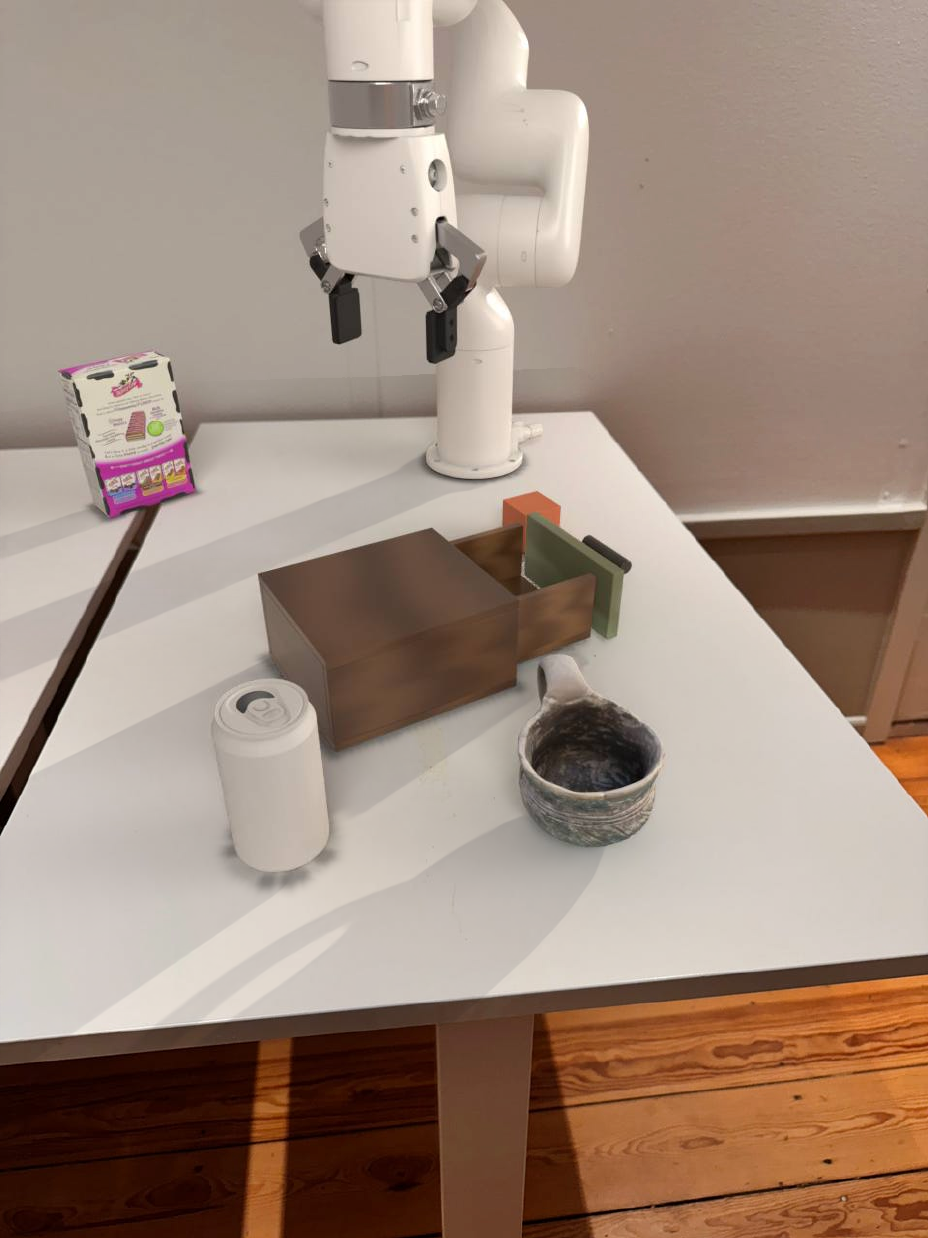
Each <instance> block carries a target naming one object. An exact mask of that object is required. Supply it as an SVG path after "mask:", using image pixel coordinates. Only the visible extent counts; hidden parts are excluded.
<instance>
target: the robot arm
mask: <svg viewBox="0 0 928 1238" xmlns="http://www.w3.org/2000/svg"><path fill="white" fill-rule="evenodd" d="M296 1H297V3H298V5H299V7H300V8H301V10H302V11H303V12H304V14H306V16H307V17H308V18H310V19H311V20H312V21H313V22H315V23H316V24H319V25H321V26H323V27H322V28H323V43H324V52H325V53H324V55H325V69H326V80H327V95H328V107H329V108H328V109H329V121H330V130H329V131H326V134H325V142H324V153H323V165H322V166H323V169H322V216H321V217H319V219H317V220H315V221H313V222H312V223H311V224H309V225H307V226H305V228H303V229H301V230H300V232H299V240H300V242H301V244H302V246H303V249H304V251H305V253H306V255H307V257H308V258H309V261H308V262H309V267H310V269H311V270H312V271H313V273H314V274H315V275H316V277H317V278H318V279H319V281H320V290H321V291H322V293H324V294H325V295H328V305H329V317H330V318H329V319H330V330H331V342H332V343H333V344H335V345H343V344H346V343H348V342H350V341H354V340H356V339H359V338H360V337H361V336H362V333H363V329H362V328H363V327H362V315H361V298H360V297H361V296H360V292H359V287H353V284H354V283H355V282H356V280H357V278H358V277H359V276H360V277H367V278H373V279H379V280H380V279H381V280H387V281H392V282H393V281H394V282H399V283H406V284H407V283H408V284H417V286H418V287H419V289H420V290H421V292H422V294H423V295H424V297H425V299H426V301H427V302H428V303H429V305H430V307H431V310H428V311H426V313H425V351H426V354H425V355H426V361H427V362H428V363H429V364H434V365H436V366H435V375H436V376H435V379H436V427H437V428H436V429H437V431H436V433H437V434H436V435H437V440H436V441H435V442H434V443H432V444H431V445H430V446H429V447H427V449H426V451H425V461H426V464H427V466H428V467H429V468H430V469H432V470H433V471H434V472H437V473H438V474H441V475H444V476H447V477H450V478H455V479H463V480H485V479H494V478H497V477H503V476H505V475H508V474H510V473H512V472H514V471H516V470H517V469H519V468H520V466H521V465H522V463H523V454H524V452H523V450H522V448H520V447H519V445H521V444H523V443H524V441H526V440H533V439H537V438H541V437H543V434H544V428H543V426H542V424H541V423H540V422H534V423H529V424H526V425H524V422H523V421H522V420H516V421H513V391H514V390H513V388H514V387H513V386H514V352H515V324H514V319H513V315H512V313H511V312H510V309H509V307H508V306H507V304H506V302H505V301H504V299H503V298H502V296H501V295H500V293H499V292H498V290H497V289H496V288H503V287H510V288H532V289H534V288H536V289H537V288H538V289H556V288H560V287H564V286H565V285H567V284H568V283H570V281H571V280H572V279H573V278H574V276H575V273H576V270H577V266H578V263H579V256H580V251H581V250H580V248H581V239H582V228H583V217H584V204H585V195H586V193H585V192H586V185H587V172H588V163H589V148H590V147H589V146H590V145H589V144H590V127H589V126H590V125H589V118H588V117H589V116H588V111H587V108H586V106H585V103H584V101H583V100H582V99H581V98H580V97H579V96H578V95H577V94H575V93H574V92H571V91H568V90H563V89H547V88H543V89H542V88H541V89H539V88H536V89H535V88H534V89H533V88H531V89H529V88H527V82H528V81H527V80H528V68H529V67H528V66H529V58H530V57H529V56H530V46H529V42H528V37H527V35H526V33H525V31H524V29H523V27H522V25H521V24H520V22H519V20H518V18H516V16H515V14H514V13H513V12H512V11H511V9H510V8H509V6H508V5H507V4H506V3H505V2H504V1H503V0H296ZM443 27H447V29H448V33H449V38H450V45H451V61H450V64H451V65H450V75H449V76H450V78H449V92H448V103H447V99H446V96H445V95H444V94H443V93H437V92H435V91H436V90H435V89H436V88H435V85H436V84H435V81H434V79H435V74H434V73H435V70H434V68H435V67H434V63H435V62H434V28H443ZM447 105H448V106H447ZM446 110H447V119H446V134H445V132H436V129H435V127H436V126H435V125H436V117H437V116H438V117H442V116H444V115H445V113H446ZM454 178H455V179H457V180H458V181H461V182H463V183H466V184H472V185H481V186H496V187H497V186H499V187H523V188H524V187H525V188H526V187H530V188H539V189H540V190H541V191H542V192H543V193H544V195H516V194H515V195H513V194H512V195H511V194H509V195H508V194H503V193H501V194H500V193H497V194H496V193H460V194H456V191H455V183H454Z"/></svg>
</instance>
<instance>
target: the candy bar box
mask: <svg viewBox="0 0 928 1238" xmlns="http://www.w3.org/2000/svg"><path fill="white" fill-rule="evenodd" d="M57 373H58V377H59V380H60V384H61V387H62V388H61V389H62V391H63V395H64V398H65V403H66V407H67V410H68V413H69V418H70V421H71V425H72V428H73V432H74V435H75V439H76V444H77V447H78V451H79V455H80V458H81V461H82V466H83V469H84V472H85V476H86V480H87V483H88V487H89V491H90V495H91V499H92V502H93V505H94V506H95V507H96V509H97V510H99V511H101V512H102V513H103V514H104V515H105V516H106V517H107V518H109V519H112V518H115V517H119V516H122V515H125V514H129V513H131V512H135V511H139V510H141V509H145V508H149V507H151V506H155V505H157V504H158V505H159V504H160V503H161V504H162V503H165V502H167V501H170V500H174V499H176V498H179V497H183V496H186V495H189V494H192V493H195V492H196V491H197V488H196V484H195V483H196V482H195V477H194V473H193V469H192V463H191V458H190V454H189V448H188V443H187V437H186V434H185V428H184V424H183V417H182V413H181V412H182V411H181V408H180V402H179V398H178V393H177V389H176V383H175V379H174V372H173V367H172V363H171V359H170V357H168V356H165V355H163V354H161V353H159V352H157V351H156V350H152V349H150V350H147V351H142V352H138V353H133V354H128V355H122V356H117V357H113V358H109V359H104V360H100V361H99V360H98V361H95V362H91V363H87V364H86V363H85V364H82V365H77V366H72V367H68V368H63V369H58V370H57Z"/></svg>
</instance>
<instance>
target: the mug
mask: <svg viewBox="0 0 928 1238" xmlns="http://www.w3.org/2000/svg"><path fill="white" fill-rule="evenodd" d="M536 681H537V689H538V696H539V701H540V707H539V709H538V711H536V712H535V713H534V714H533V715H532V717H530V718H529V719H528V721H527V722H526V723H525V724H524V725H523V726H522V728H521V730H520V732H519V734H518V738H517V755H518V760H519V763H520V765H519V771H518V785H519V790H520V796H521V801H522V803H523V805H524V808H525V810H526V812H527V813H528V814H529V815H530V817H531V818H532V820H533V821H534V822H535V823H536V824H537V825H538V826H539V827H540V828H541V829H542V830H544V832H546V833H547V834H549V835H550V836H552V837H553V838H556V839H558V840H560V841H563V842H564V843H569V844H572V845H574V846H579V847H584V848H601V847H607V846H610V845H614V844H618V843H621V842H623V841H625V840H629V839H630V838H631V837H633V836H635V835H636V834H637V833H638V832H639V831H640V830H641V829H642V828H643V827H644V826H645V825H646V823H647V822H648V820H649V819H650V816H651V814H652V811H653V809H654V805H655V801H656V795H657V793H656V787H657V785H656V779H657V778H658V775H659V773H660V771H661V769H662V767H663V765H664V762H665V761H664V758H665V756H666V747H665V744H664V742H663V740H662V738H661V737H660V735H659V733H658V732H657V731H656V730H655V729H654V728H653V727H652V726H651V725H650V724H648V723H646V722H644V721H642V719H641V718H640V717H639V716H638V715H636V714H635V713H634V712H632V710H630V709H629V708H627V707H625V706H624V705H622V704H620V703H618V702H617V701H615V700H612V699H610V698H609V697H606V696H603V695H601V694H599V693H597V692H596V691H595V690H593V689H592V688H591V687H590V686H589V684H588V683H587V682H586V680H585V677H584V675H583V674H582V672H581V670H580V667H579V665H578V663H577V662H576V660H575V659H574V658H573V657H572V656H570V655H568V654H565V653H554V654H549V655H547V656H545V657H542V658H541V659H540V660H539V662H538V663H537V669H536Z"/></svg>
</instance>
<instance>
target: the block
mask: <svg viewBox="0 0 928 1238" xmlns="http://www.w3.org/2000/svg"><path fill="white" fill-rule="evenodd" d="M561 509H562V506H561V505H560V504H559V503H557V502H555V500H552V499H551V498H549V497H547V496H546V495H544V494H543V493H541V492H540V491H538V490H535V491H531V492H527V493H523V494H520V495H516V496H512V497H508V498H504V499H502V515H501V516H502V518H501V520H502V522H501V527H503V526H507V525H510V524H514V523H518V522H519V523H521V524H522V525H523V546H522V554H525V545H526V521H527V514H530V513H533V512H538V513H539V514H541V515H542V516H544V517H545V518H547V519H548V520H550V521H551V522H553V523H554V524H556V525H557V526H559V527H560V525H561V524H560V523H561V512H562V511H561ZM560 528H561V527H560Z"/></svg>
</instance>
